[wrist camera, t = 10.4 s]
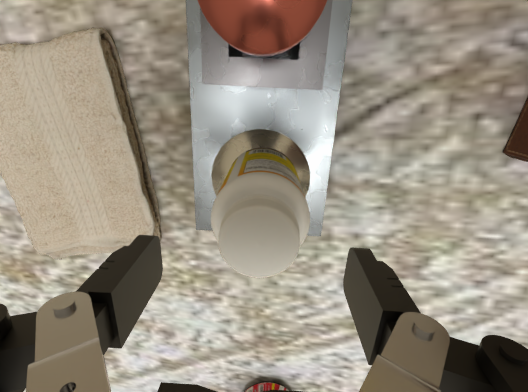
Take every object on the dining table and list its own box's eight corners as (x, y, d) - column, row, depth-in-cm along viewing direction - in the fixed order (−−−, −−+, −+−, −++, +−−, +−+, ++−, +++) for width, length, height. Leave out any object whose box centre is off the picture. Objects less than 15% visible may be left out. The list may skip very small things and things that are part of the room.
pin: (229, -17, 15) (189, -122, 7) (305, -14, 15) (342, -115, 7) (229, 66, 16) (195, 49, 9) (299, 70, 16) (323, 56, 9)
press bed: (191, -9, 20) (138, -71, 12) (347, -1, 20) (398, -59, 12) (199, 222, 26) (169, 280, 18) (318, 228, 26) (338, 288, 18)
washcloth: (57, 250, 28) (33, 268, 26) (-30, 52, 22) (-76, 47, 19) (172, 238, 28) (161, 256, 25) (115, 29, 21) (91, 20, 18)
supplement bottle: (250, 221, 24) (237, 307, 15) (216, 165, 23) (176, 223, 13) (309, 192, 23) (336, 265, 14) (277, 132, 22) (283, 167, 12)
